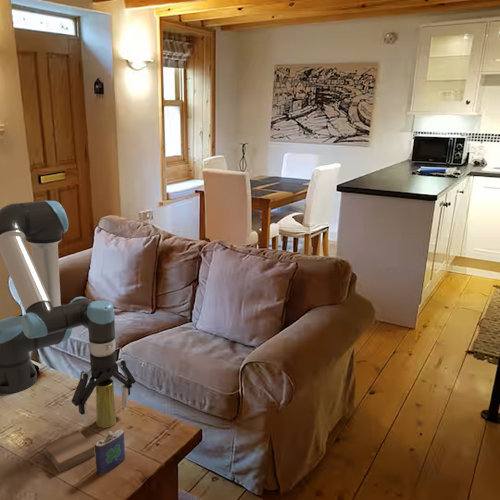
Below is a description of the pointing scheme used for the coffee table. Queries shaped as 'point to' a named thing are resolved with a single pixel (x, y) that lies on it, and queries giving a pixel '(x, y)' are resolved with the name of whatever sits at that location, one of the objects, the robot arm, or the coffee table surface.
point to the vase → (105, 404)
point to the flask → (110, 452)
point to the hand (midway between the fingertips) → (105, 413)
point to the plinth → (69, 451)
